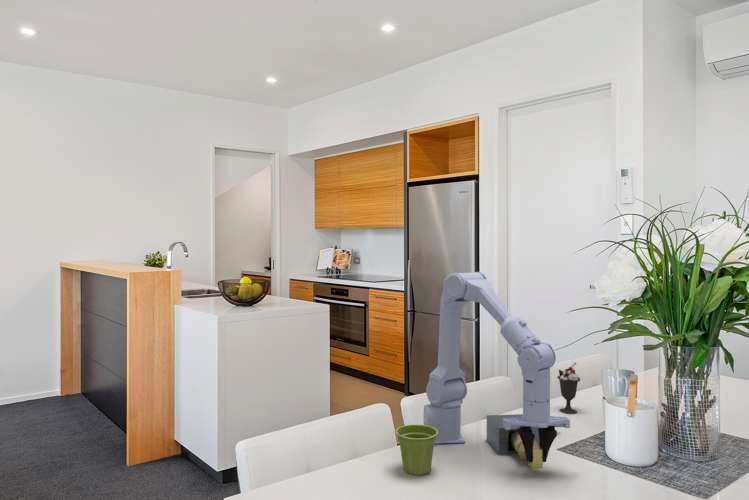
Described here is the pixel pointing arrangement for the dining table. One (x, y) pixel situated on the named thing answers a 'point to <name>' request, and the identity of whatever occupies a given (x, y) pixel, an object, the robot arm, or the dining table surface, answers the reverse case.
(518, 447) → the gold stepped cylinder
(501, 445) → the housing
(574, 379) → the sundae
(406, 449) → the plant pot
